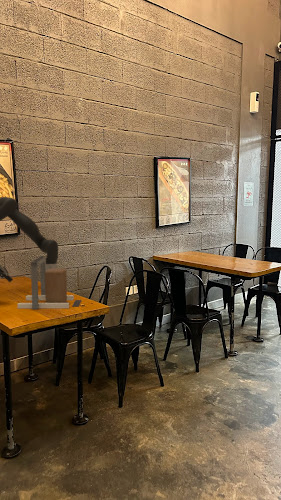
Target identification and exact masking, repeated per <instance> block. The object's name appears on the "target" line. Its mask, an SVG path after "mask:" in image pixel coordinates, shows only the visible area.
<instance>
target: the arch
mask: <svg viewBox="0 0 281 500" xmlns="http://www.w3.org/2000/svg"><path fill="white" fill-rule="evenodd" d="M46 257H47V255H45V256H43V255H42V256H41V255H40V256H39V257H38V258H36V259H34V260H33V261H31V262H30V273H31V279H30V280H31V295H32V300H31V303H32V308H31V310H39V309H40V308H39V303H40V302H39V300H38V295H39V274H38V272H39V271H38V270H39V269H40V295H45V271H46ZM38 267H40V268H39V269H38Z"/></svg>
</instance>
